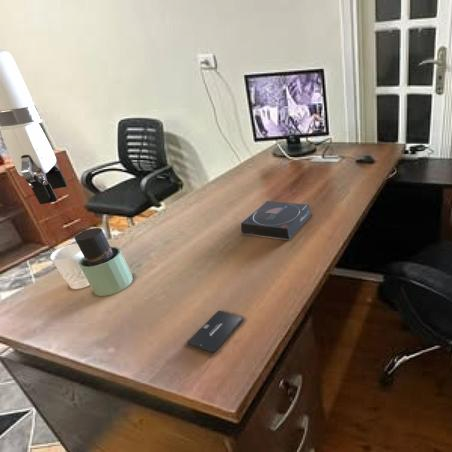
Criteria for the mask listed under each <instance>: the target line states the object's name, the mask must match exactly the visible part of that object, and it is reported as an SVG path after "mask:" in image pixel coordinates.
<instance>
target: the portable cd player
mask: <svg viewBox="0 0 452 452" xmlns="http://www.w3.org/2000/svg"><path fill="white" fill-rule="evenodd" d="M311 216H312V211H311V204H306V203H294V202H283V201H282V202H281V201H274V200H273V201H272V200H271V201H270V200H267V201H265V202H264V203H263V204H262V205H261V206H259V207H258V208H257V209H256V210H255V211H254V212H252V214H250V215H249V216H248V217H246V218H245V219H244V220H243V221H241V223H240V232H242V234H243V235H245V236H246V235H247V236H253V237H261V238H269V239H276V240H284V241H290V240H291V239H292V238H293V237H294V236H295V234H296V233H297V232H298V231H299V230H300V229H301V228H302V227H303V226H304V224H305V223H306V222H307V221H308V220H309V219H310V217H311Z"/></svg>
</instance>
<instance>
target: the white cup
mask: <svg viewBox="0 0 452 452" xmlns="http://www.w3.org/2000/svg"><path fill="white" fill-rule="evenodd" d="M83 257H84V256H83V254H82V252H81V250H80V248H79V246H78V244H77V243H71V244H68V245H65V246H63V247H60V248H58V249H56V250H55V251H53V252H52V253H51V254H50V255H49V259H50V261H51V262H52V264H53V265H54V267H55V268H56V269H57V271H58V272H59V274H60V276H61V277H62V278H63V279H64V281H65V282H66V284H68V287H69V288H70V289H72V290H81V289H84V288H86V287H89V286H90V284H89V282H88V280H87V279H86V277H85V275H84V273H83V271H82V269H81V267H80V265H79V262H80V260H81V259H82V258H83Z"/></svg>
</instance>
